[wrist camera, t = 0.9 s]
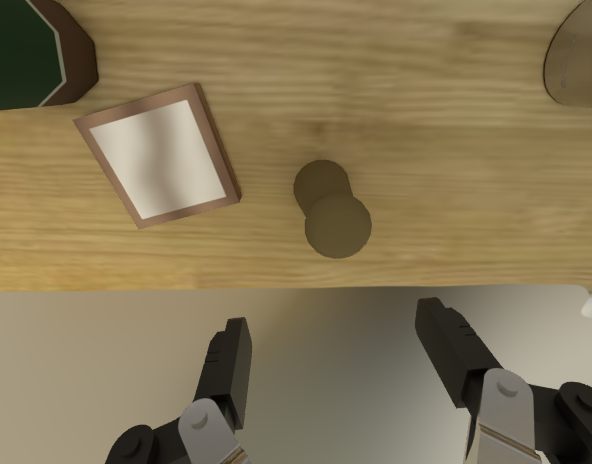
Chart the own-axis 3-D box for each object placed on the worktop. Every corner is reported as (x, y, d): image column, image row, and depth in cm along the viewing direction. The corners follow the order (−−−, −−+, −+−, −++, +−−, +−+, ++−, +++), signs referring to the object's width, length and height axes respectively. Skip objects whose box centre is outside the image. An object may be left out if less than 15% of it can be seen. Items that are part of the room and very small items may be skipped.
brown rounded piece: (284, 200, 30) (287, 254, 21) (309, 149, 28) (325, 184, 18) (331, 221, 32) (355, 280, 22) (359, 174, 30) (399, 218, 20)
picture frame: (199, 83, 25) (192, 83, 23) (241, 195, 30) (239, 202, 28) (86, 117, 25) (71, 120, 24) (146, 221, 31) (138, 230, 29)
